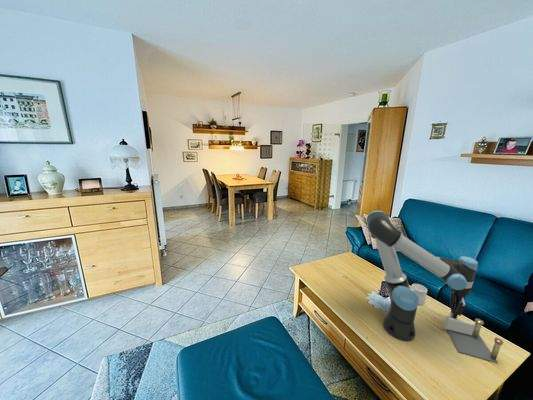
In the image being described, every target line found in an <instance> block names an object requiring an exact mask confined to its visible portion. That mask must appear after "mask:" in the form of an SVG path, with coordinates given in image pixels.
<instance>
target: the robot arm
mask: <svg viewBox="0 0 533 400" xmlns="http://www.w3.org/2000/svg"><path fill="white" fill-rule="evenodd" d="M366 224H367V228H368V232H369V234H370V236H371V238H372V239H374V240H375V244H376V246H377V250H378V253H379V256H380V259H381V263H382V267H383V268H384V269H383V270H384V272H385V275H384V277H383V279H384V282H385V284H386V288H387V292H388V296H389V300H390V305H389V310H388V313H387V314H386V315H385V317H384V319H383V328H384V330H385V331H386V332H387V333H388V334H389V335H390V336H392V337H393V338H396V339H398V340H400V341H404V342H410V341H413V340H414V339H415V337H416V333H417V332H416V327H415V323H414V322H415V319H416V314H417V309H418V307H419V305H418V296H417V294H416V293H415V292H414V291H412V290H411V287H410V284H409V281H408V277H407V274H405V273H404V272H403V271H402V267H401V264H400V261H399V258H398V255H397V254H398V253H397V251H398V252H400V253H402V254H403V255H404V256H406V257H408V258H409V259H411V260H412V261H414V262H415V263H417V264H418V265H420V266H421V267H422V268H424V269H426V270H427V271H429V272H430V273H432V274H433V275H434V276H436V277H438V278H439V279H441V280H442V281H444V282H445V283H446V284H447V286H448V287H449V288H450V296H449V297H450V298H449V300H450V301H449V307H450V313H449V315H448V316H449V317H450V318H454V319H458V316H462V314H463V313H464V310H465V308H466V307H467V306H468V303H466V302H465V300H466V296H469V295H470V294H471V291H472V287H473V284H474V280H475V277H476V273H477V271H478V267H479V266H478V265H479V262H478V261H477V260H476V259H475V258H472V257H469V256H465V255H463V256H460V257H458V258H457V259H453V258H452V259H451V258H447V257H441V256H436V255H434V254H432V253H431V252H429V251H427V250H426V249H425V248H423V247H422V246H420V245H418V244H417V243H415V242H413V241H412V240H411V239H410V238H408V237H406V236H404V235H403V233H402V231H400V230H399V229H397V228H396V226H394V224H392V222H391V220H390V218H389V215H388V214H387V213H385V212H384V211H382V210H373V211H371V212H370V213H369V214H368V215H367V216H366ZM396 250H397V251H396Z"/></svg>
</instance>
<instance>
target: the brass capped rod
mask: <svg viewBox="0 0 533 400" xmlns="http://www.w3.org/2000/svg"><path fill="white" fill-rule="evenodd" d="M493 340H494V343H493V347H492V350H491V355H490V358H492V359H493V360H497V358H498V355H499V352H500V349H501V347H502V345H503V344H504V340H502V339H501V338H498V337H494V339H493Z"/></svg>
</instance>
